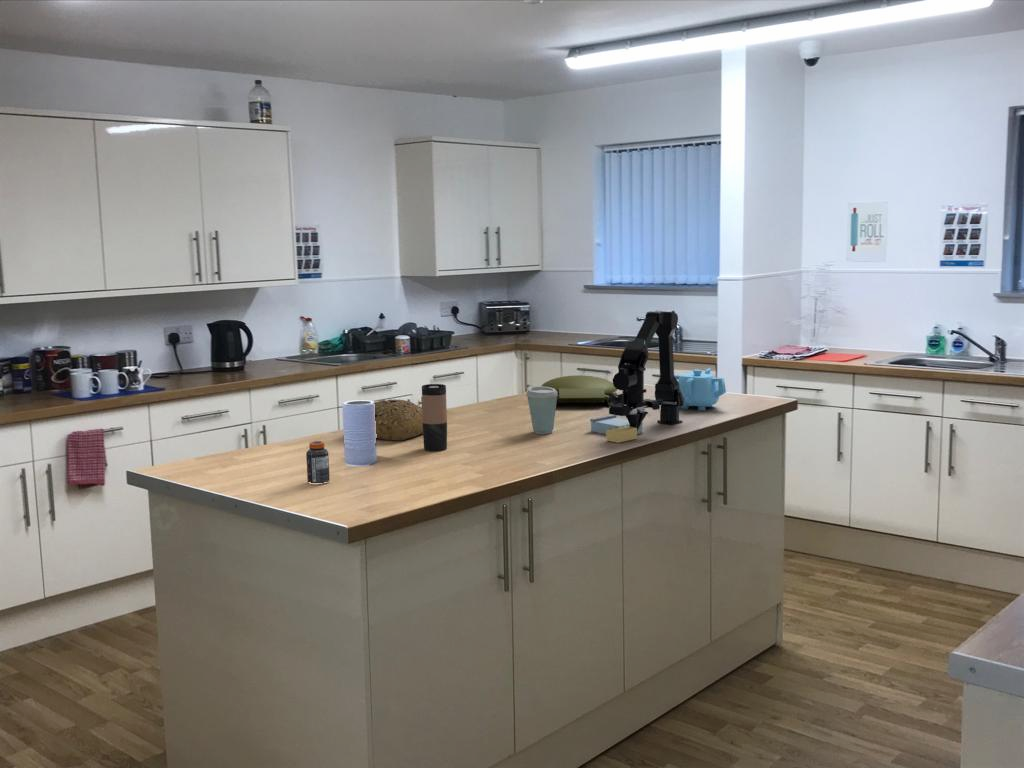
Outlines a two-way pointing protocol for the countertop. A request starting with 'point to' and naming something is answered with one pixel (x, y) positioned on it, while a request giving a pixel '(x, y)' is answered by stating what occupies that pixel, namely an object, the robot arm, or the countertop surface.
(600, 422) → the ticket
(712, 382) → the teapot
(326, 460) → the pill bottle
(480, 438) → the countertop surface
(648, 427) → the countertop surface
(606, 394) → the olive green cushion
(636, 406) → the robot arm
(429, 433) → the travel mug
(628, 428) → the stub
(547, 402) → the disposable coffee cup
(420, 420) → the bread
